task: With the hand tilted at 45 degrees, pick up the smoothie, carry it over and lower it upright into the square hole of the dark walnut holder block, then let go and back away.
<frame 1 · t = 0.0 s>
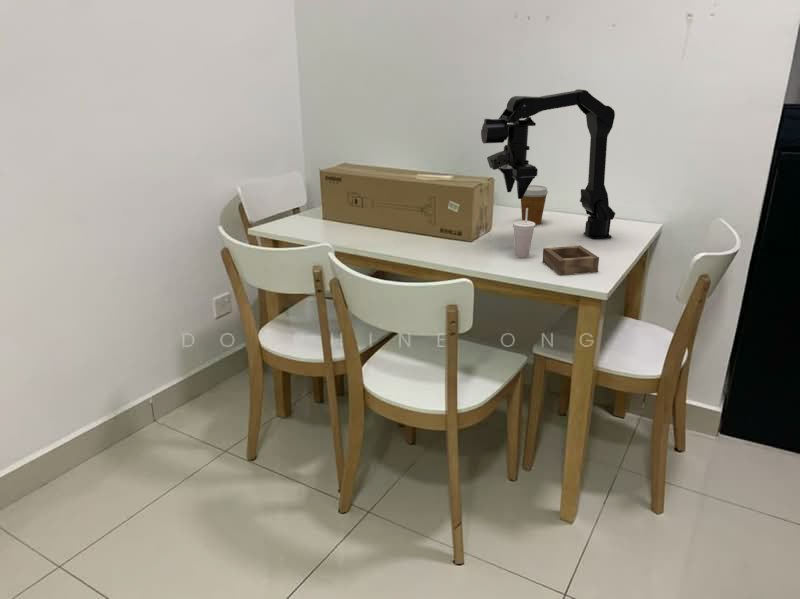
hand: (514, 195, 183), 15 cm above the table, tool pointing down, fingers open, 9 cm apart
smoothie: (522, 256, 176), on the table
disposable coffee cup: (531, 223, 209), on the table
socket block: (569, 266, 167), on the table
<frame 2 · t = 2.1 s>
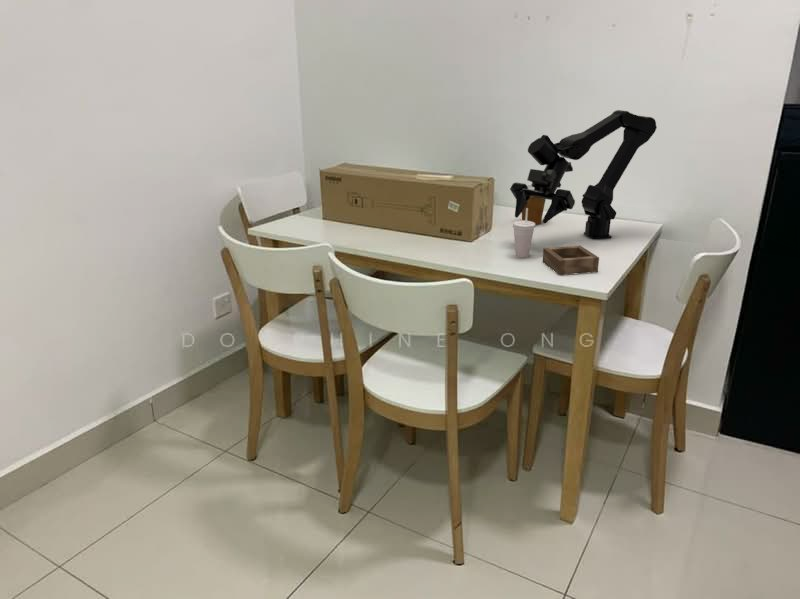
hand: (529, 219, 174), 10 cm above the table, tool tilted 45°, fingers open, 9 cm apart
nothing on the table moved.
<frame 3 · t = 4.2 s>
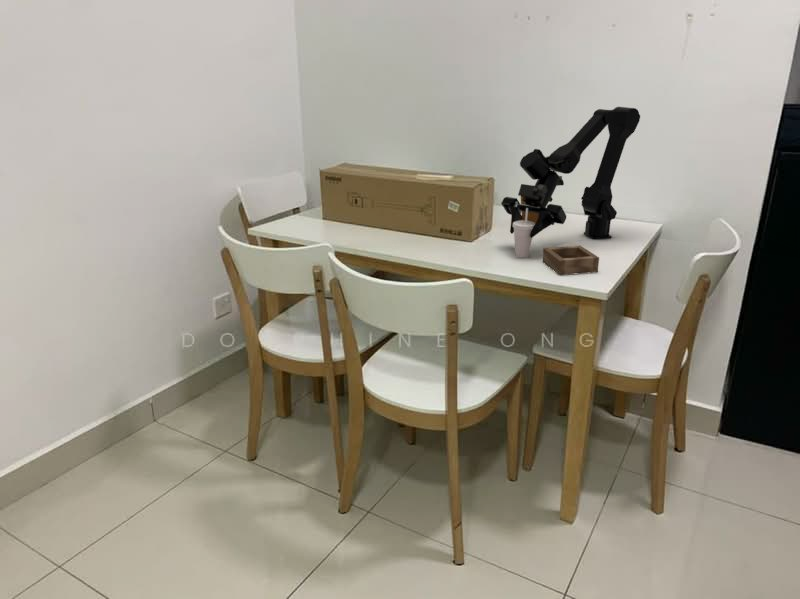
hand: (520, 234, 173), 7 cm above the table, tool tilted 45°, fingers closed on smoothie, 6 cm apart
smoothie: (522, 256, 176), on the table, touching gripper
everything else where it was.
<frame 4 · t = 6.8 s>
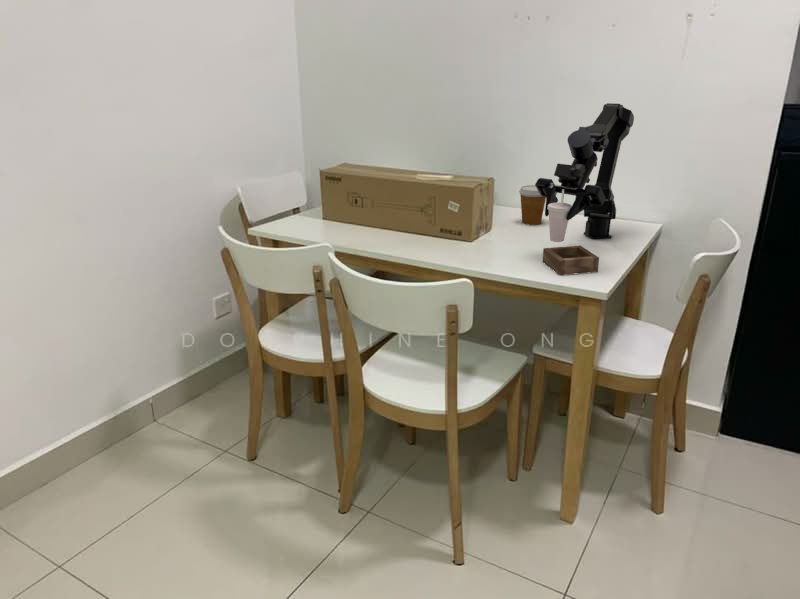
hand: (556, 217, 163), 13 cm above the table, tool tilted 45°, fingers closed on smoothie, 6 cm apart
smoothie: (556, 240, 167), point 7 cm above the table, touching gripper
everything else where it was.
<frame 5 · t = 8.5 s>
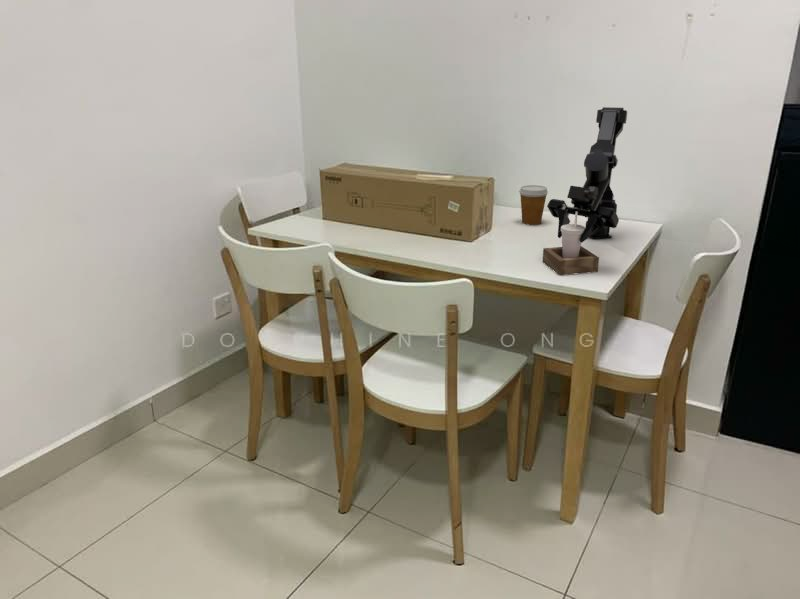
hand: (569, 239, 163), 8 cm above the table, tool tilted 45°, fingers closed on smoothie, 6 cm apart
smoothie: (569, 262, 166), point 1 cm above the table, touching gripper
everything else where it was.
when the fingers open (8 cm above the table, at t = 9.7 s): smoothie drops 1 cm, resting in socket block.
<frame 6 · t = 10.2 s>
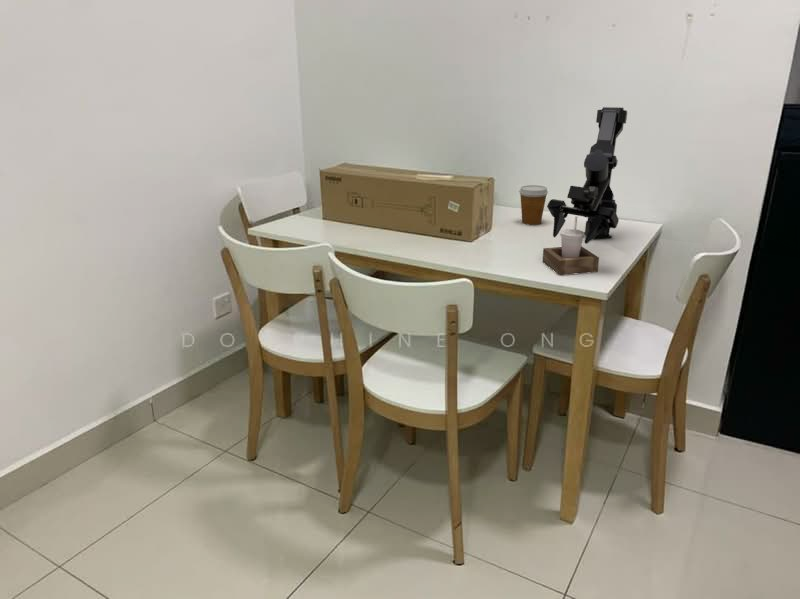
hand: (569, 239, 163), 8 cm above the table, tool tilted 45°, fingers open, 9 cm apart
smoothie: (569, 267, 167), resting in socket block
everything else where it was.
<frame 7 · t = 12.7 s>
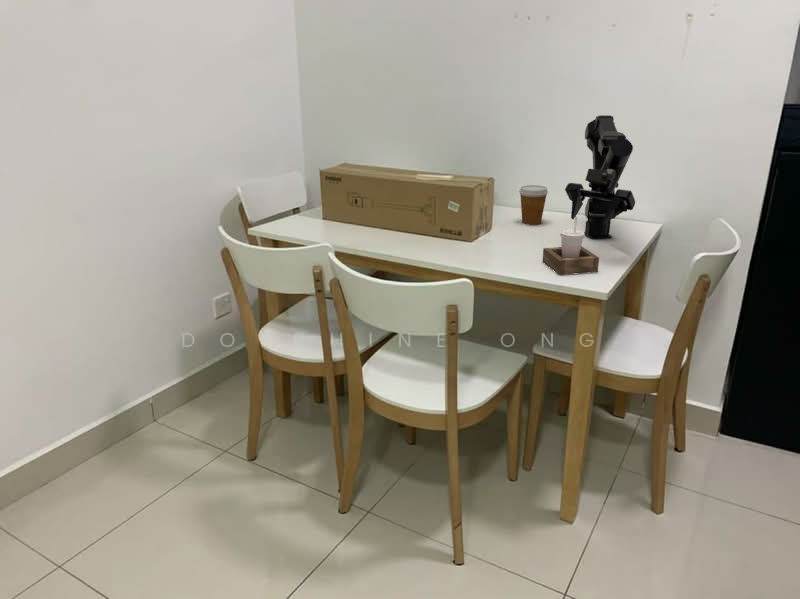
hand: (587, 221, 168), 11 cm above the table, tool tilted 45°, fingers open, 9 cm apart
nothing on the table moved.
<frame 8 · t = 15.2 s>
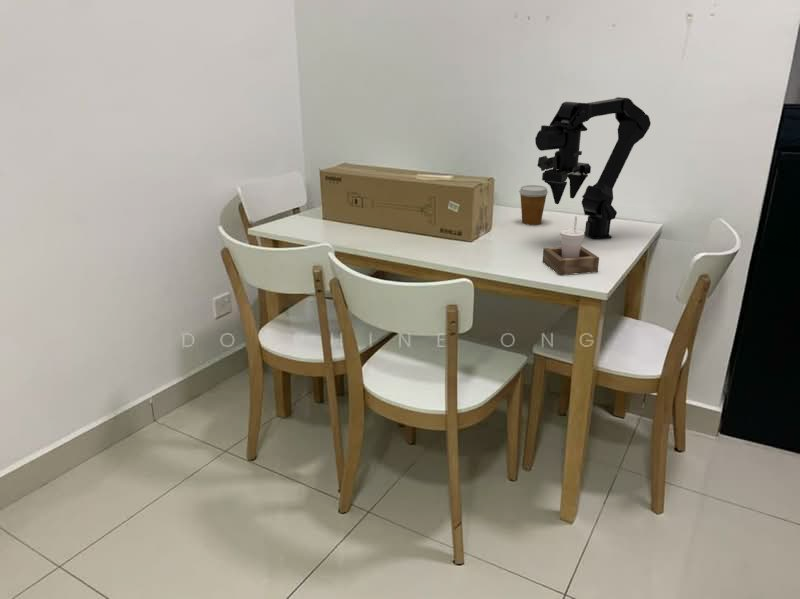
hand: (564, 201, 182), 13 cm above the table, tool pointing down, fingers open, 9 cm apart
nothing on the table moved.
at the end: smoothie 0.2 cm off-centre on the socket block, point 0.0 cm above the socket block's base; smoothie tilted 0°; the gripper is holding nothing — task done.
